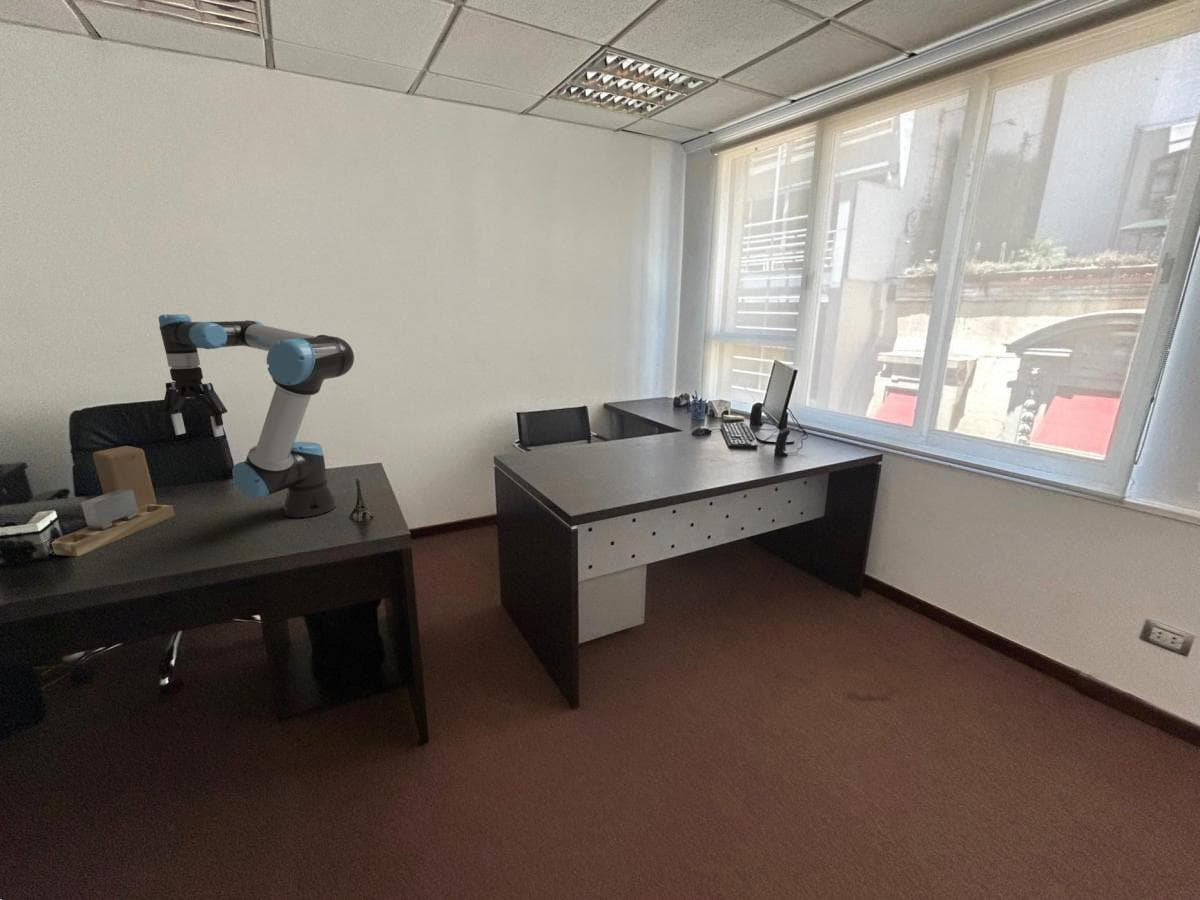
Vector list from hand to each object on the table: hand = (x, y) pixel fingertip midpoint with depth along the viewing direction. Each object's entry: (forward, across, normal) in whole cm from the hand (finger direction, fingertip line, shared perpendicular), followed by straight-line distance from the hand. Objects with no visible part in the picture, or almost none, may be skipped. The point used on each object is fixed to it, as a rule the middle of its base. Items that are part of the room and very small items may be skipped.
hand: (200, 435), depth 158 cm
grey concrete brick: (+27, +16, +18) cm, 36 cm away
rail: (+27, +16, +18) cm, 36 cm away
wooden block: (+27, +32, 0) cm, 42 cm away
